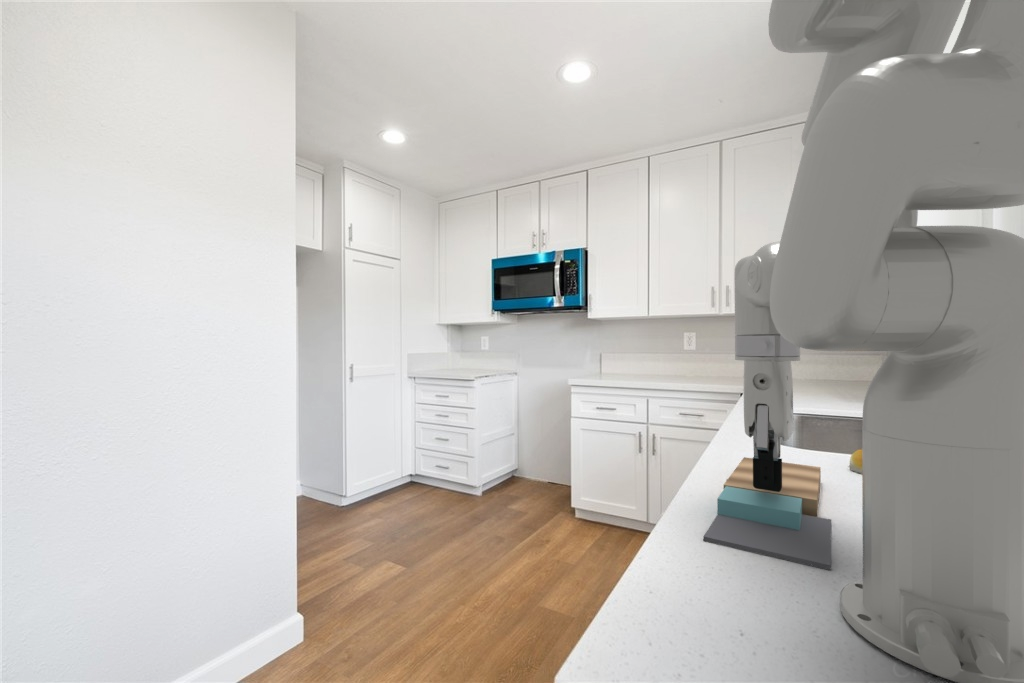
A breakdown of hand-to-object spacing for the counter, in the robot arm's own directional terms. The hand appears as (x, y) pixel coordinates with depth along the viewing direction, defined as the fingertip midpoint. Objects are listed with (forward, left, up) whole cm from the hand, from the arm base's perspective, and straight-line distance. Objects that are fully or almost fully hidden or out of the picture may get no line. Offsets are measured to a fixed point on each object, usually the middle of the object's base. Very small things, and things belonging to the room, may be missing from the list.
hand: (767, 488), depth 61 cm
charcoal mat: (-6, -1, -3) cm, 7 cm away
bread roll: (+32, -14, -4) cm, 35 cm away
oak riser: (+10, 0, -3) cm, 11 cm away
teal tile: (-2, +1, -2) cm, 3 cm away
